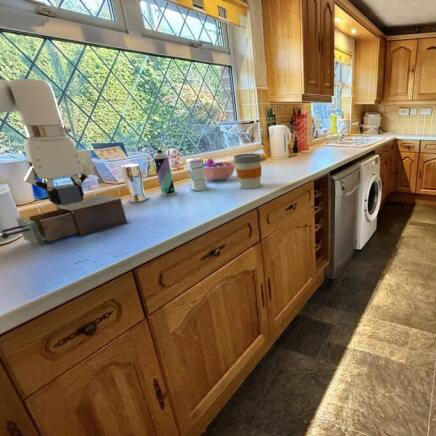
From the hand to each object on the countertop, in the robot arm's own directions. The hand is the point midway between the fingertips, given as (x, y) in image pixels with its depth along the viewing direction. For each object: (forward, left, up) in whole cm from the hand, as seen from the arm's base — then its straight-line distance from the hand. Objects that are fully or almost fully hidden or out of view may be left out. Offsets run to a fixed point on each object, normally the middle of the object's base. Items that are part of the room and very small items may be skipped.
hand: (68, 201), depth 82 cm
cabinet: (+9, +13, -13) cm, 20 cm away
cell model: (+76, +30, -13) cm, 83 cm away
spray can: (+46, +29, -13) cm, 56 cm away
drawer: (-4, +13, -12) cm, 18 cm away
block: (0, 0, 0) cm, 0 cm away
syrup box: (+58, +23, -13) cm, 64 cm away
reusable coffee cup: (+72, +3, -13) cm, 73 cm away
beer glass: (+34, +32, -13) cm, 48 cm away
